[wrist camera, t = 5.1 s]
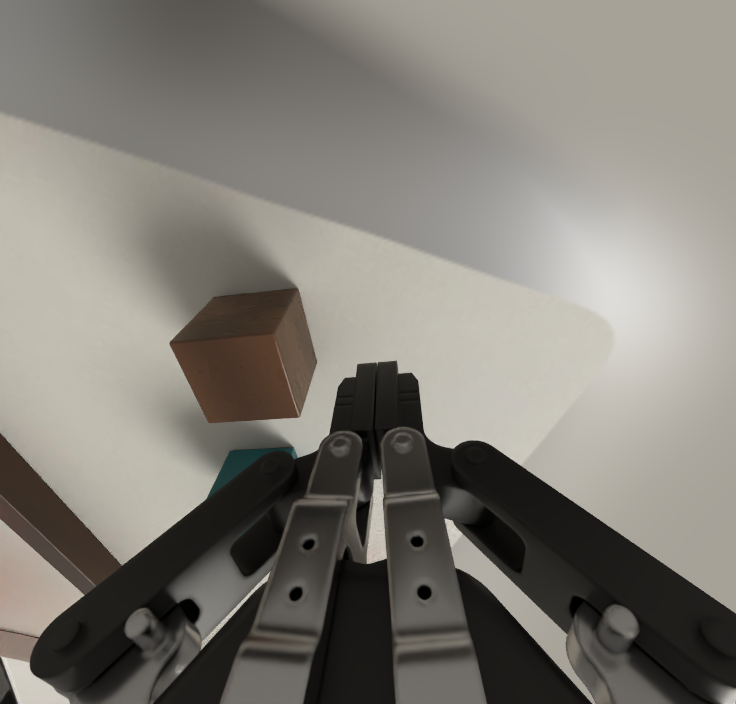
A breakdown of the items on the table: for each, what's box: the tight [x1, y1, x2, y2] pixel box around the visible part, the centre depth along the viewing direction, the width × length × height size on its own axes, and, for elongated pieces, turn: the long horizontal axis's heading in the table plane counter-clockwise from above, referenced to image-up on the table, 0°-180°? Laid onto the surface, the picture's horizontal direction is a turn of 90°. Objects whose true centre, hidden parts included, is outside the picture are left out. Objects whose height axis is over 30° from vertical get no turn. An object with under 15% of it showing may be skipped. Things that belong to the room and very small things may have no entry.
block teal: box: [207, 447, 297, 540], centre depth 24 cm, size 4×4×4 cm
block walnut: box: [170, 288, 317, 423], centre depth 18 cm, size 4×4×4 cm
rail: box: [0, 435, 121, 595], centre depth 32 cm, size 2×44×2 cm, turn 8°
